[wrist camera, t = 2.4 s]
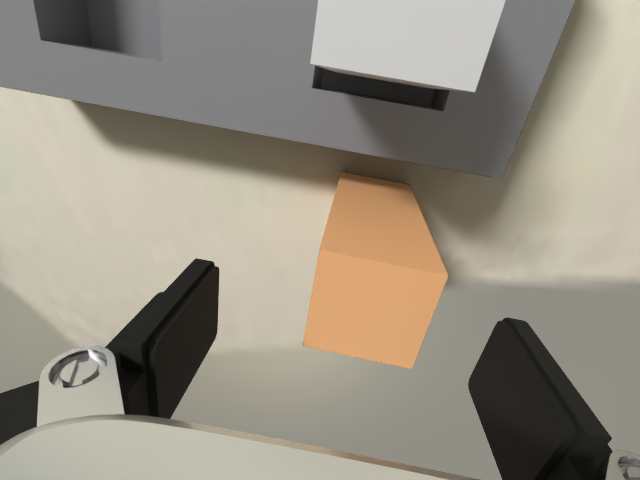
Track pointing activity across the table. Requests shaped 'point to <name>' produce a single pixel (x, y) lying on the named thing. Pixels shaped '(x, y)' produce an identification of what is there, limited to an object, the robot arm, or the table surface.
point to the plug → (374, 274)
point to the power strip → (302, 68)
